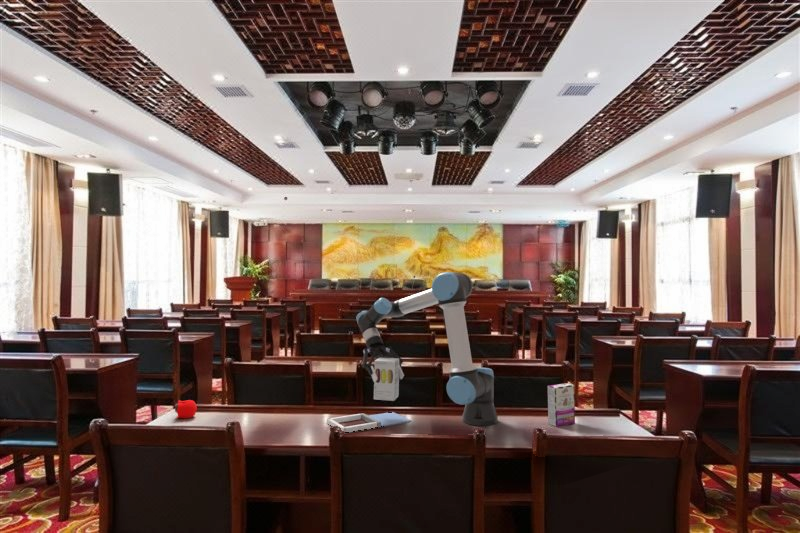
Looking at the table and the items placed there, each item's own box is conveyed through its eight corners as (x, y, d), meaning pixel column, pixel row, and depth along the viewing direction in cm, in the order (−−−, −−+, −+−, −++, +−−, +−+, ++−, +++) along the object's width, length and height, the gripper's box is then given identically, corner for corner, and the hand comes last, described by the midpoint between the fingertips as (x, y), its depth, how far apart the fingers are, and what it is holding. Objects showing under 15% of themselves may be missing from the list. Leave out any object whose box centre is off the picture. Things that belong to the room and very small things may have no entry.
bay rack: (411, 421, 206) (411, 417, 206) (342, 433, 189) (342, 428, 189) (392, 413, 219) (392, 408, 219) (326, 423, 202) (326, 418, 203)
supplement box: (373, 399, 206) (373, 360, 206) (378, 394, 215) (378, 357, 215) (394, 401, 204) (395, 361, 204) (399, 396, 213) (399, 357, 213)
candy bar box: (566, 420, 208) (566, 382, 209) (575, 423, 204) (575, 384, 205) (547, 424, 203) (546, 385, 204) (556, 427, 199) (555, 387, 199)
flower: (196, 407, 207) (176, 408, 205) (195, 422, 210) (175, 423, 207) (197, 396, 214) (178, 397, 211) (197, 410, 217) (177, 411, 214)
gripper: (393, 343, 230) (409, 381, 216) (346, 346, 217) (360, 386, 203) (399, 333, 225) (416, 371, 212) (351, 336, 212) (366, 376, 199)
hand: (389, 378), depth 208 cm, fingers closed on supplement box, 13 cm apart
